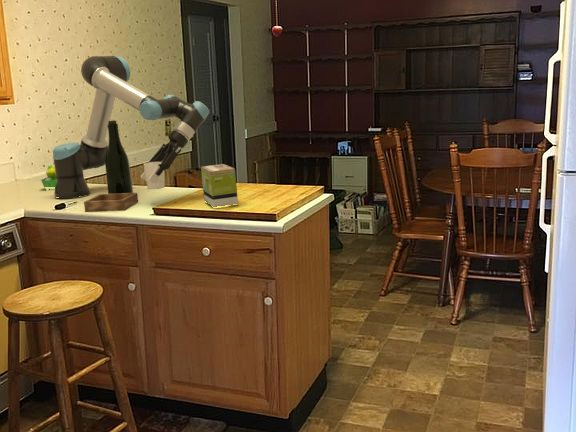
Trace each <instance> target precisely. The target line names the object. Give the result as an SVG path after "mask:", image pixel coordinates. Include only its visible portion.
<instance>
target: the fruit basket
mask: <svg viewBox="0 0 576 432" xmlns="http://www.w3.org/2000/svg"><path fill="white" fill-rule="evenodd" d="M45 174H46V176H47V177H44V178H42V179H40V181H41V183H42V186H43V188H44V187H56V182H57V179H56V172H55V165H54V166H53V165H48V167H47V170H46V173H45Z"/></svg>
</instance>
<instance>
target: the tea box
mask: <svg viewBox="0 0 576 432" xmlns="http://www.w3.org/2000/svg"><path fill="white" fill-rule="evenodd" d="M200 171H201V181H202V189H203V201H206V202H207V203H209V204H210V205H212V206H213V207H217V206H225V205H233V204H238V205H239V200H238V199H239V197H238V188H237V187H238V186H237V178H236V177H237V176H236V175H237V174H236V169H235V168H234V167H232V166H229V165H227V164H224V163H221V164H212V165H206V166H200ZM207 203H206V204H207Z"/></svg>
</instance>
